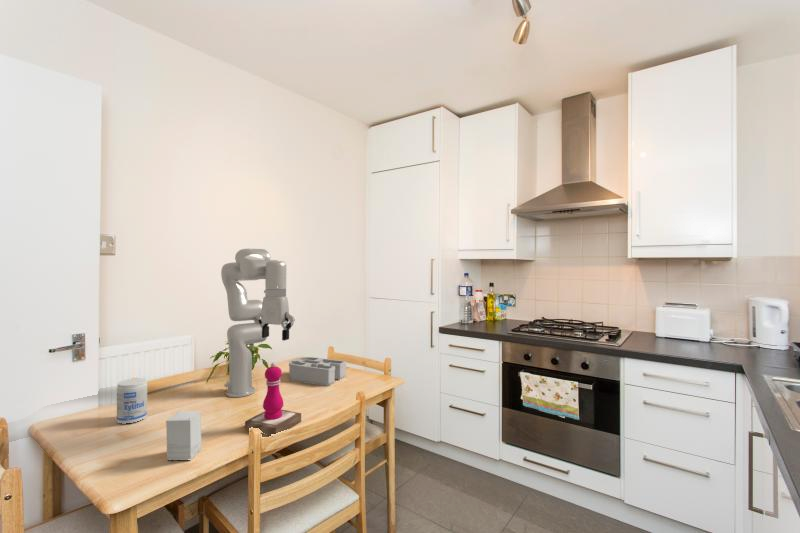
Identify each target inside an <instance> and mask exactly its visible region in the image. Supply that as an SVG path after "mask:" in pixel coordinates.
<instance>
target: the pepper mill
mask: <svg viewBox="0 0 800 533" xmlns="http://www.w3.org/2000/svg"><path fill="white" fill-rule="evenodd" d="M276 365H277V364H276V362H271V364H270V367H267V368H266V370H265V371H264V378H265V379H266V381H265V382H266V383H265V385H266V386H267V390H266V395H265V397H264V399H263V403H262V408H263V410H264V411H265V413H264V417H265V419H268V420H274V419H278V418H280V417H281V416H282V410H283V409H282V408H283V407H284V405H285V404H284V398H283V396H282V394H281V392H280V385H281V377H282V376H283V375H282V374H283V373H282V372H283V371H282V369H281V368H280V367H278V366H276ZM281 409H282V410H281Z"/></svg>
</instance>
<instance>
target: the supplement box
mask: <svg viewBox="0 0 800 533" xmlns="http://www.w3.org/2000/svg"><path fill="white" fill-rule="evenodd" d="M165 423H166V461H167V460H188V459H192V458H193V457H194V456H195V455H196V453H197V452H198V451H199V450H200V449H201V450H202V411H201V410H193V411H191V410H190V411H189V410H188V411H177V412H176V413H175V414H172V416H171V417H169V418H168V419H167V420H165ZM201 450H200V451H201ZM200 451H199V452H200ZM199 452H198V453H199ZM196 456H197V455H196ZM196 456H195V457H196ZM195 457H194V458H195ZM194 458H193V459H194ZM193 459H192V460H193Z"/></svg>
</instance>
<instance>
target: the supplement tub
mask: <svg viewBox="0 0 800 533" xmlns="http://www.w3.org/2000/svg"><path fill="white" fill-rule="evenodd" d="M147 416H148V380H147V378H142V377H141V378H140V377H138V378H129V379H125V380H121V381H119V382H117V387H116V422H117V423H118V424H119V423H122V424H121V425H127V424H126V423H132V424H134V423H133V422H136V423H138V422H137V421H139V422H141V421H143V420H142V419H144V418H145V419H146V418H147ZM145 419H144V420H145ZM140 420H141V421H140Z"/></svg>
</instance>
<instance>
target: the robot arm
mask: <svg viewBox="0 0 800 533" xmlns="http://www.w3.org/2000/svg"><path fill="white" fill-rule="evenodd" d="M234 259H235V262H228V263H225V264H224V265H222V266H221V272H220V276H221V280H222V284H223V286H224V290H225V291H226V297H227V299H226V300H227V309H228V317H229V319H230V320H231V321H232V322H246V321H253V322H248V323H239V324H233V325H231V326H230V327H229V328H228V329H227V331H226V338H227V344H228V352H229V354H228V355H229V356H228V359H229V368H228V369H229V370H228V372H229V375H228V377H229V379H228V380H227V381H226V383H225V384H224V387H225V388H227V389H226V391H225V396H227V397H229V398H242V397H247V396H250V395H253V394H254V393H255V392H256V387H254V386H253V385H252V384H253V383H252V382H253V381H252V380H253V374H252V372H253V369H252V368H253V363H252V362H253V361H252V357H253V356H252V351H251V350H250V349H249V348H248V347H247V345H252V344H258V343H263V342H265V341H266V340H267V338H268V337H270V326H269V325H277V326H279V325H280V326H281V327H282V331H281V340H282V341H287V340H290V329H292V326H294V323H295V321H296V318H295V317H294V316H292V315H291V314H290V307H289V301H288V297H287V262H285V261H281V260H278V259H277V260H276V259H271V254H270V252H269V251H268V250H266V248H265V249H264V248H242V249H239V250H238V251H237V252H236V253H235V256H234ZM258 280H265V282H264V283H265V288H264V291H263V293H264V294H265V296H264V297H263V299H262V300H260V299H248V292H247V289H246V287H244V285H243V284H242V283H241V282H240V281H258Z"/></svg>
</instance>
